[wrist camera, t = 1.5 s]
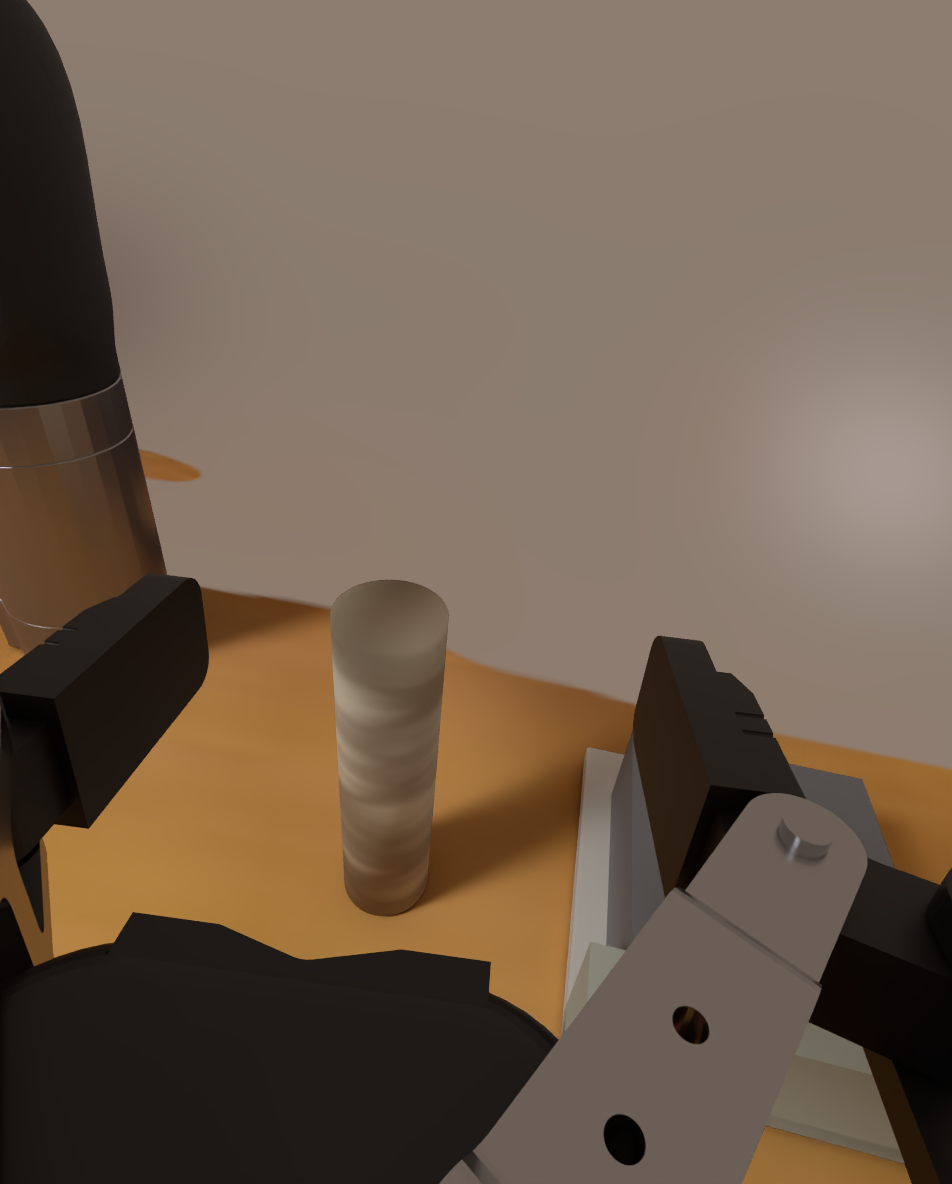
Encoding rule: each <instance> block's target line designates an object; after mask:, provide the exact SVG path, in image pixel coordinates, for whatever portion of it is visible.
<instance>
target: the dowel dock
mask: <svg viewBox="0 0 952 1184" xmlns="http://www.w3.org/2000/svg"><path fill="white" fill-rule="evenodd" d="M789 766H790V768H791V770H792V772H793V774H794V776H795V778H796V780H797V782H798V784H799V786H800V788H801V790H802V792H803V794H804V796H805V798H806V800H809V801H812V802H814V803H816V804H818V805H820V806H822V807H824V808H825V809H827V810H829V811H830V812H832V813H833V814H834V815H836V816H837V817H839V818H840V819H841V820H842V821H843V822H845V823H846V824H847V825H848V826H849V827H850V828H851V829H852V831H853V832H854V833H855V834H856V835H857V837H858V838H859V840H860V841H861V843H862V845H863V847H864V849H865V852H866V855H867V857H868V858H870V859H872V860H874V861H877V862H879V863H881V864H884V865H887V866H889V867H892V868H894V865H893V862H892V859H891V857H890V854H889V851H888V849H887V846H886V843H885V840H884V838H883V835H882V832H881V829H880V827H879V824H878V821H877V819H876V816H875V813H874V810H873V808H872V805H871V802H870V799H869V797H868V794H867V791H866V788H865V786H864V783H863V780H862V779H858V778H854V777H849V776H844V775H840V774H835V773H830V772H825V771H821V770H816V769H811V768H806V767H802V766H797V765H792V764H789ZM664 899H665V896H664V891H663V886H662V881H661V876H660V871H659V866H658V862H657V857H656V852H655V847H654V842H653V837H652V832H651V827H650V822H649V817H648V812H647V807H646V802H645V797H644V792H643V787H642V782H641V778H640V773H639V768H638V763H637V758H636V753H635V748H634V742H633V731H632V734H631V737H630V740H629V743H628V746H627V749H626V752H625V755H623V754H618V753H614V752H609V751H604V750H600V749H595V748H590V747H587V750H586V754H585V758H584V768H583V780H582V792H581V804H580V816H579V828H578V840H577V852H576V864H575V876H574V888H573V900H572V912H571V924H570V936H569V948H568V960H567V972H566V984H565V996H564V1008H563V1020H562V1031H561V1036H562V1035H563V1034H564V1032H565V1031H566V1030H567V1028H568V1027H569V1026H570V1024H571V1023H572V1022H573V1020H574V1019H575V1018H576V1016H577V1015H578V1014H579V1012H580V1011H581V1010H582V1008H583V1007H584V1006H585V1004H586V1003H587V1002H588V1000H589V999H590V998H591V996H592V995H593V994H594V992H595V991H596V990H597V988H598V987H599V986H600V984H601V983H602V982H603V980H604V979H605V978H606V976H607V975H608V974H609V972H610V971H611V970H612V968H613V967H614V966H615V964H616V963H617V962H618V960H619V959H620V958H621V956H622V955H623V954H624V952H625V951H626V950H627V948H628V947H629V946H630V944H631V943H632V942H633V940H634V939H635V938H636V936H637V935H638V934H639V932H640V931H641V930H642V928H643V927H644V926H645V924H646V923H647V922H648V920H649V919H650V918H651V916H652V915H653V914H654V912H655V911H656V910H657V908H658V907H659V906H660V904H661V903H662V902H663V900H664ZM766 1126H769V1127H773V1128H776V1129H780V1130H784V1131H787V1132H791V1133H795V1134H798V1135H802V1136H805V1137H809V1138H813V1139H816V1140H820V1141H824V1142H827V1143H831V1144H835V1145H838V1146H842V1147H845V1148H849V1149H853V1150H856V1151H860V1152H864V1153H867V1154H871V1155H874V1156H878V1157H882V1158H885V1159H889V1160H893V1161H896V1162H900V1163H904V1160H903V1158H902V1155H901V1152H900V1149H899V1147H898V1144H897V1141H896V1138H895V1135H894V1133H893V1130H892V1127H891V1124H890V1122H889V1119H888V1116H887V1113H886V1111H885V1108H884V1105H883V1102H882V1100H881V1097H880V1094H879V1091H878V1089H877V1086H876V1083H875V1080H874V1077H873V1075H872V1072H871V1069H870V1066H869V1064H868V1061H867V1058H866V1055H865V1053H864V1050H863V1047H861V1046H859V1045H857V1044H855V1043H853V1042H851V1041H848V1040H846V1039H844V1038H842V1037H840V1036H837V1035H835V1034H833V1033H831V1032H829V1031H826V1030H824V1029H822V1028H820V1027H818V1026H816V1025H813V1024H811V1023H809V1022H808V1024H807V1027H806V1029H805V1031H804V1034H803V1036H802V1039H801V1041H800V1043H799V1046H798V1048H797V1051H796V1053H795V1056H794V1058H793V1060H792V1063H791V1065H790V1068H789V1070H788V1073H787V1075H786V1077H785V1080H784V1082H783V1085H782V1087H781V1090H780V1092H779V1094H778V1097H777V1099H776V1102H775V1104H774V1106H773V1109H772V1111H771V1114H770V1116H769V1119H768V1121H767V1123H766ZM904 1164H905V1163H904Z"/></svg>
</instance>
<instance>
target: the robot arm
mask: <svg viewBox="0 0 952 1184" xmlns="http://www.w3.org/2000/svg"><path fill="white" fill-rule="evenodd" d="M0 625H1V627H2V630H3V632H4V634H5V637H6V639H7V641H8V644H9V646H12V647H16V648H19V649H22V651H23V652H24V654H25V656H23V657H22V658H21V659H19V660H18V661H17V662H16V663H14V664H13V665H12V666H10V667H9V668H8V669H6V670H5V671H4V672H2V673H1V674H0V1184H742V1182H743V1179H744V1177H745V1174H746V1172H747V1169H748V1167H749V1165H750V1162H751V1160H752V1157H753V1155H754V1152H755V1150H756V1148H757V1145H758V1143H759V1140H760V1138H761V1136H762V1133H763V1131H764V1128H765V1126H766V1123H767V1121H768V1119H769V1116H770V1114H771V1111H772V1109H773V1106H774V1104H775V1102H776V1099H777V1097H778V1094H779V1092H780V1090H781V1087H782V1085H783V1082H784V1080H785V1077H786V1075H787V1073H788V1070H789V1068H790V1065H791V1063H792V1060H793V1058H794V1056H795V1053H796V1051H797V1048H798V1046H799V1043H800V1041H801V1039H802V1036H803V1034H804V1031H805V1029H806V1027H807V1024H808V1022H809V1023H811V1024H813V1025H816V1026H818V1027H820V1028H822V1029H824V1030H826V1031H829V1032H831V1033H833V1034H835V1035H837V1036H840V1037H842V1038H844V1039H846V1040H848V1041H851V1042H853V1043H855V1044H857V1045H859V1046H861V1047H863V1050H864V1053H865V1055H866V1058H867V1061H868V1064H869V1066H870V1069H871V1072H872V1075H873V1077H874V1080H875V1083H876V1086H877V1089H878V1091H879V1094H880V1097H881V1100H882V1102H883V1105H884V1108H885V1111H886V1113H887V1116H888V1119H889V1122H890V1124H891V1127H892V1130H893V1133H894V1135H895V1138H896V1141H897V1144H898V1147H899V1149H900V1152H901V1155H902V1158H903V1160H904V1163H905V1166H906V1169H907V1171H908V1174H909V1177H910V1180H911V1182H912V1184H952V868H951V870H950V871H949V872H948V874H947V875H946V877H945V878H944V880H943V881H942V883H941V885H938V884H936V883H933V882H930V881H927V880H925V879H922V878H919V877H917V876H914V875H911V874H908V873H906V872H903V871H900V870H897V869H895V868H892V867H889V866H887V865H884V864H881V863H879V862H877V861H874V860H872V859H870V858H868V857H867V855H866V852H865V849H864V847H863V845H862V843H861V841H860V840H859V838H858V837H857V835H856V834H855V833H854V832H853V831H852V829H851V828H850V827H849V826H848V825H847V824H846V823H845V822H843V821H842V820H841V819H840V818H839V817H837V816H836V815H834V814H833V813H832V812H830V811H829V810H827V809H825V808H824V807H822V806H820V805H818V804H816V803H814V802H812V801H809V800H806V798H805V796H804V794H803V792H802V790H801V788H800V786H799V784H798V782H797V780H796V778H795V776H794V774H793V772H792V770H791V768H790V766H789V764H788V762H787V760H786V758H785V756H784V754H783V752H782V750H781V748H780V746H779V744H778V742H777V740H776V738H773V732H772V730H771V728H770V726H769V724H768V722H767V721H766V720H765V719H764V714H763V712H762V710H761V708H760V707H759V704H758V702H757V700H756V698H755V696H754V694H753V693H752V692H751V691H749V689H747V688H746V687H745V686H744V685H743V684H742V683H741V682H740V681H739V680H738V679H737V678H736V677H734V676H733V675H732V674H731V673H723V672H716V670H715V667H714V665H713V662H712V660H711V658H710V656H709V653H708V651H707V649H706V647H705V645H704V643H703V642H702V641H697V640H689V639H681V638H673V637H665V636H657V637H656V638H655V639H654V641H653V644H652V647H651V651H650V654H649V658H648V662H647V666H646V670H645V674H644V677H643V681H642V686H641V689H640V693H639V697H638V701H637V705H636V709H635V714H634V722H633V742H634V748H635V753H636V758H637V763H638V768H639V773H640V778H641V782H642V787H643V792H644V797H645V802H646V807H647V812H648V817H649V822H650V827H651V832H652V837H653V842H654V847H655V852H656V857H657V862H658V866H659V871H660V876H661V881H662V886H663V891H664V896H665V899H664V900H663V902H662V903H661V904H660V906H659V907H658V908H657V910H656V911H655V912H654V914H653V915H652V916H651V918H650V919H649V920H648V922H647V923H646V924H645V926H644V927H643V928H642V930H641V931H640V932H639V934H638V935H637V936H636V938H635V939H634V940H633V942H632V943H631V944H630V946H629V947H628V948H627V950H626V951H625V952H624V954H623V955H622V956H621V958H620V959H619V960H618V962H617V963H616V964H615V966H614V967H613V968H612V970H611V971H610V972H609V974H608V975H607V976H606V978H605V979H604V980H603V982H602V983H601V984H600V986H599V987H598V988H597V990H596V991H595V992H594V994H593V995H592V996H591V998H590V999H589V1000H588V1002H587V1003H586V1004H585V1006H584V1007H583V1008H582V1010H581V1011H580V1012H579V1014H578V1015H577V1016H576V1018H575V1019H574V1020H573V1022H572V1023H571V1024H570V1026H569V1027H568V1028H567V1030H566V1031H565V1032H564V1034H563V1035H562V1036H561V1038H560V1039H559V1040H558V1039H557V1038H556V1037H555V1036H554V1035H553V1034H552V1033H551V1032H550V1031H549V1030H548V1029H547V1028H546V1027H545V1026H543V1025H542V1024H541V1023H539V1022H538V1021H537V1020H535V1019H534V1018H533V1017H532V1016H530V1015H529V1014H528V1013H526V1012H525V1011H523V1010H521V1009H520V1008H518V1007H516V1006H515V1005H513V1004H511V1003H510V1002H508V1001H506V1000H504V999H502V998H500V997H498V996H495V995H493V994H491V993H489V981H490V966H491V962H487V961H480V960H473V959H466V958H459V957H451V956H444V955H437V954H430V953H423V952H415V951H408V950H394V951H385V952H376V953H367V954H358V955H349V956H341V957H332V958H323V959H314V960H303V959H298V958H295V957H292V956H290V955H288V954H286V953H283V952H281V951H279V950H277V949H274V948H272V947H270V946H267V945H265V944H263V943H261V942H258V941H256V940H254V939H252V938H249V937H247V936H245V935H243V934H240V933H238V932H236V931H234V930H231V929H229V928H227V927H225V926H222V925H220V924H214V923H207V922H199V921H192V920H185V919H178V918H171V917H164V916H156V915H149V914H142V913H135V912H133V913H132V915H131V916H130V918H129V919H128V921H127V923H126V924H125V926H124V927H123V929H122V931H121V932H120V934H119V935H118V937H117V939H116V940H115V942H114V943H108V944H103V945H98V946H93V947H89V948H84V949H80V950H77V951H74V952H71V953H68V954H65V955H62V956H58V957H56V958H54V955H53V944H52V928H51V912H50V897H49V881H48V865H47V852H46V847H45V844H44V841H43V838H42V837H43V836H44V835H45V834H46V833H47V832H48V830H49V829H50V828H51V827H52V826H53V825H54V824H58V825H65V826H72V827H80V828H87V829H89V828H90V826H91V825H92V824H93V823H94V821H95V820H96V819H97V818H98V816H99V815H100V814H101V812H102V811H103V810H104V809H105V807H106V806H107V805H108V804H109V802H110V801H111V800H112V799H113V797H114V796H115V795H116V794H117V792H118V791H119V790H120V789H121V787H122V786H123V785H124V783H125V782H126V781H127V780H128V778H129V777H130V776H131V775H132V773H133V772H134V771H135V770H136V768H137V767H138V766H139V765H140V763H141V762H142V761H143V759H144V758H145V757H146V756H147V754H148V753H149V752H150V751H151V749H152V748H153V747H154V746H155V744H156V743H157V742H158V741H159V739H160V738H161V737H162V735H163V734H164V733H165V732H166V730H167V729H168V728H169V727H170V725H171V724H172V723H173V722H174V720H175V719H176V718H177V717H178V715H179V714H180V713H181V711H182V710H183V709H184V708H185V706H186V705H187V704H188V703H189V701H190V700H191V699H192V698H193V696H194V695H195V694H196V693H197V691H198V690H199V689H200V687H201V686H202V684H203V682H204V679H205V676H206V673H207V669H208V663H209V651H208V643H207V635H206V627H205V619H204V610H203V602H202V594H201V589H200V586H199V584H198V582H197V581H196V580H195V579H193V578H186V577H177V576H169V575H167V571H166V567H165V563H164V558H163V554H162V549H161V545H160V541H159V536H158V532H157V527H156V524H155V519H154V514H153V510H152V506H151V501H150V497H149V493H148V488H147V484H146V479H145V475H144V471H143V466H142V462H141V457H140V453H139V449H138V445H137V440H136V436H135V431H134V427H133V423H132V419H131V415H130V410H129V406H128V401H127V397H126V393H125V388H124V384H123V379H122V375H121V372H120V366H119V362H118V357H117V353H116V347H115V338H114V321H113V307H112V298H111V292H110V287H109V282H108V277H107V272H106V267H105V262H104V257H103V251H102V246H101V240H100V234H99V228H98V223H97V218H96V211H95V204H94V198H93V192H92V186H91V179H90V173H89V166H88V160H87V155H86V149H85V144H84V139H83V134H82V128H81V123H80V119H79V115H78V111H77V107H76V104H75V100H74V96H73V92H72V89H71V85H70V82H69V80H68V77H67V74H66V71H65V69H64V66H63V63H62V60H61V58H60V55H59V53H58V51H57V49H56V47H55V45H54V43H53V41H52V39H51V37H50V35H49V33H48V31H47V29H46V27H45V26H44V24H43V22H42V21H41V19H40V18H39V16H38V15H37V14H36V12H35V11H34V9H33V8H32V7H31V5H30V4H29V3H28V2H27V0H0Z"/></svg>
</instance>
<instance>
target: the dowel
mask: <svg viewBox="0 0 952 1184" xmlns="http://www.w3.org/2000/svg"><path fill="white" fill-rule="evenodd" d="M448 617H449V614H448V609H447V606H446V605H445V603H444V601H443V600H442V599H441V598H440V597H439V596H438V595H437V594H436V593H434V592H433V591H431V590H429V589H428V588H426V587H423V586H421V585H418V584H415V583H411V582H407V581H400V580H378V581H372V582H367V583H363V584H360V585H357V586H355V587H352V588H351V589H349V590H347V591H345V592H344V593H343V594H341V596H339V597H338V598H337V599H336V601H335V602H334V604H333V605H332V608H331V611H330V624H331V642H332V661H333V679H334V698H335V716H336V734H337V753H338V771H339V790H340V808H341V826H342V845H343V863H344V881H345V888H346V891H347V894H348V896H349V898H350V899H351V901H352V902H353V903H354V904H355V905H356V906H357V907H358V908H360V909H361V910H363V911H365V912H367V913H369V914H372V915H377V916H390V915H395V914H398V913H401V912H403V911H405V910H407V909H409V908H410V907H411V906H413V905H414V904H415V903H416V902H417V901H418V900H419V898H420V897H421V896H422V894H423V892H424V890H425V887H426V884H427V879H428V867H429V855H430V842H431V830H432V817H433V805H434V792H435V780H436V768H437V755H438V743H439V730H440V718H441V705H442V693H443V681H444V668H445V656H446V642H447V631H448Z"/></svg>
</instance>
